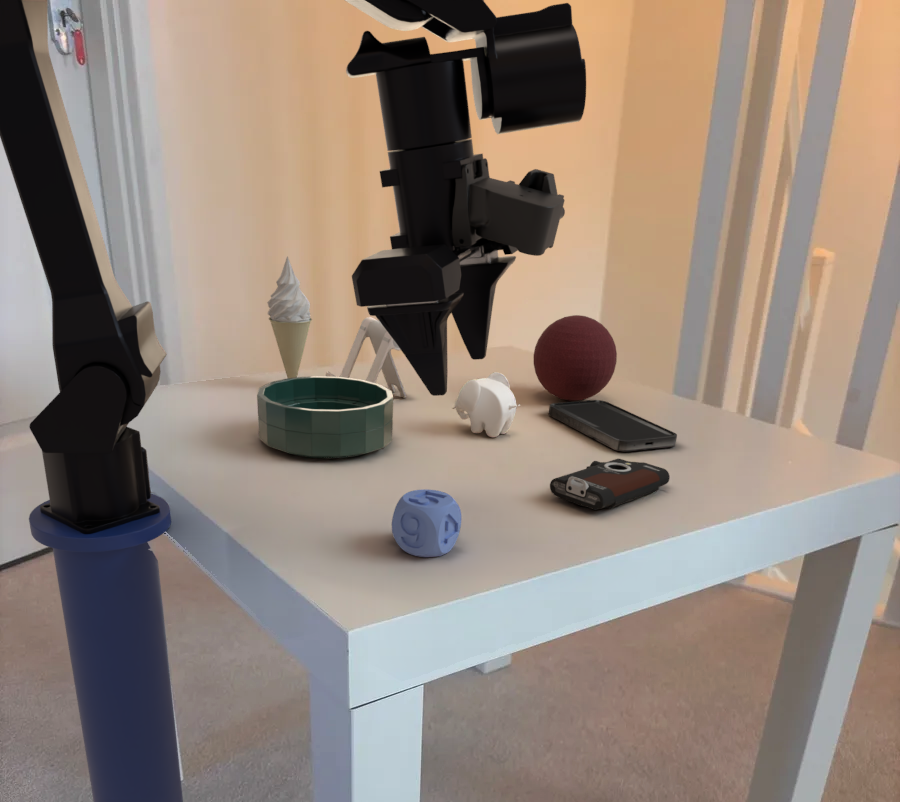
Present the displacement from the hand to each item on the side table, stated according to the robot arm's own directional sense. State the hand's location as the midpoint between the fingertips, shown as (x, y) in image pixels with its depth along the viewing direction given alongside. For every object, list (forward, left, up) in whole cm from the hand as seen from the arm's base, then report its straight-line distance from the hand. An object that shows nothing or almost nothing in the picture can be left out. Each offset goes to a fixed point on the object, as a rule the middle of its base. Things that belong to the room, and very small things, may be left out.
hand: (460, 375), depth 68 cm
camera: (+17, -5, -13) cm, 21 cm away
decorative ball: (+43, +15, -13) cm, 47 cm away
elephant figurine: (+24, +14, -13) cm, 30 cm away
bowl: (+9, +23, -12) cm, 28 cm away
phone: (+35, +5, -12) cm, 37 cm away
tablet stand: (+25, +32, -13) cm, 42 cm away
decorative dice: (-4, -1, -13) cm, 13 cm away
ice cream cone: (+21, +41, -13) cm, 48 cm away
